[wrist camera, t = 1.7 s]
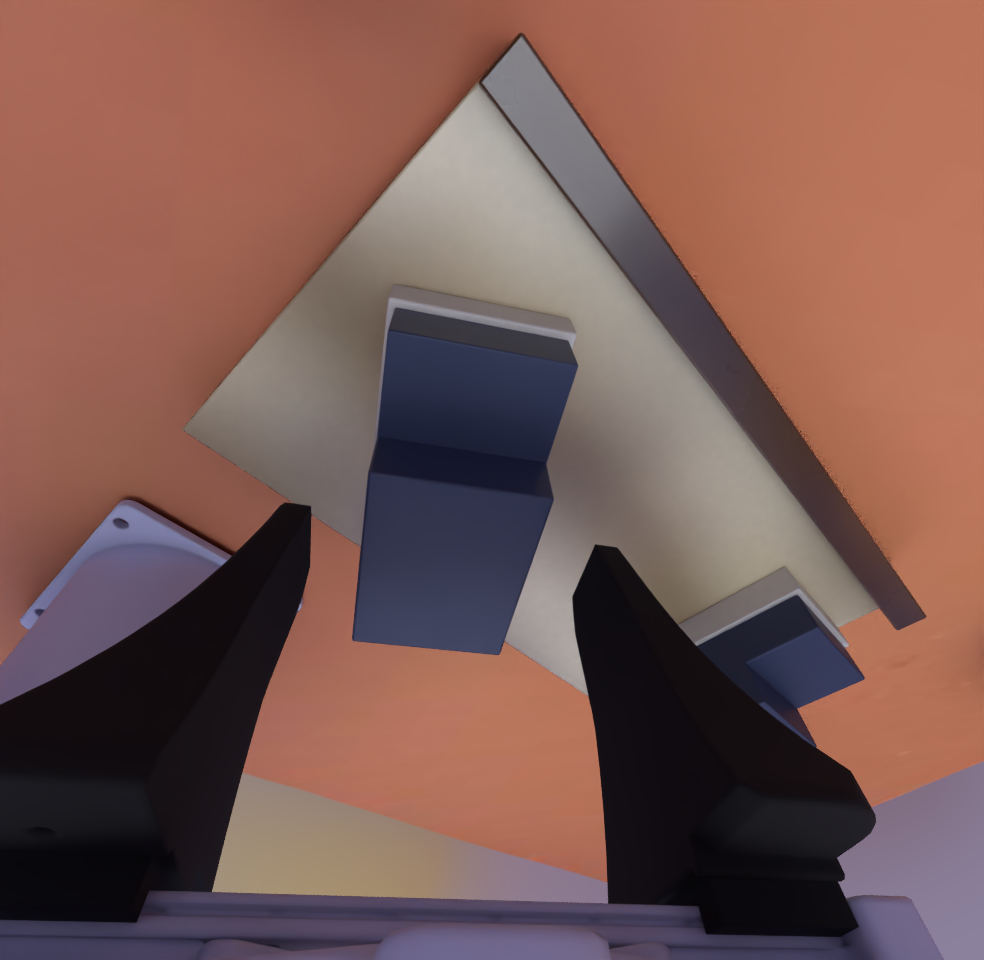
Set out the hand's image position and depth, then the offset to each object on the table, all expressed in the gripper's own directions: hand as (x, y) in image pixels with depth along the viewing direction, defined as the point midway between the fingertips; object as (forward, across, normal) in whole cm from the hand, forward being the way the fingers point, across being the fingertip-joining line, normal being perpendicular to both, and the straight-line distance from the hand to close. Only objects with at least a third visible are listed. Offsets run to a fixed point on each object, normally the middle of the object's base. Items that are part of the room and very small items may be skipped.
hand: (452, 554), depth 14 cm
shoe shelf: (+6, -6, +2) cm, 9 cm away
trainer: (+5, 0, 0) cm, 5 cm away
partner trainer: (+5, -13, +8) cm, 16 cm away
